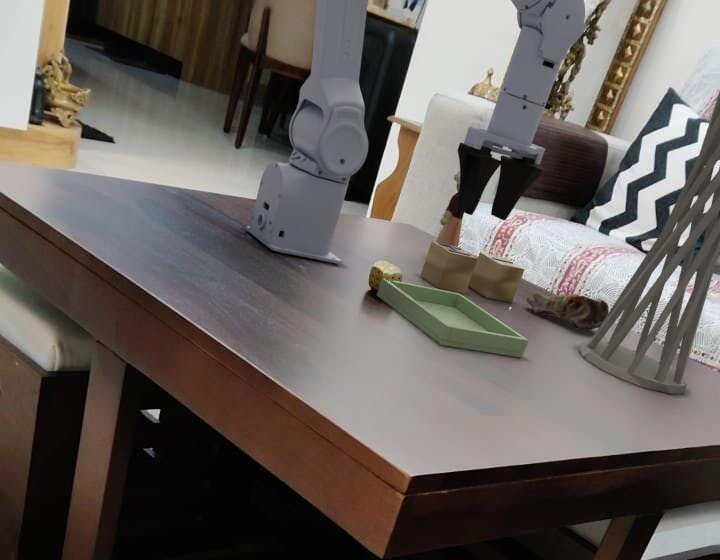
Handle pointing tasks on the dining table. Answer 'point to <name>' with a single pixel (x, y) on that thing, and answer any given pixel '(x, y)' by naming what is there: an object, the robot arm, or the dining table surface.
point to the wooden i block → (496, 277)
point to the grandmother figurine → (451, 220)
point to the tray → (452, 319)
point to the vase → (636, 362)
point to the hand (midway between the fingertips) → (481, 215)
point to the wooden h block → (448, 267)
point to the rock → (571, 309)
